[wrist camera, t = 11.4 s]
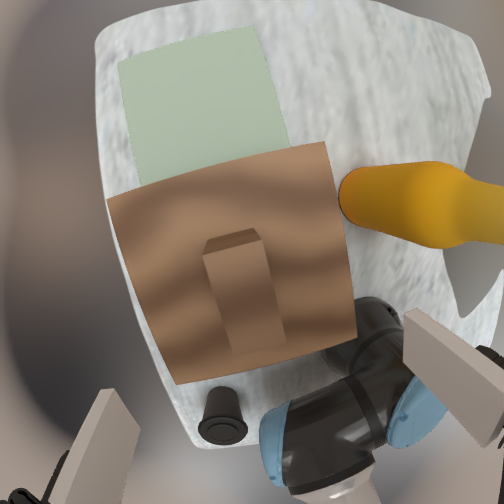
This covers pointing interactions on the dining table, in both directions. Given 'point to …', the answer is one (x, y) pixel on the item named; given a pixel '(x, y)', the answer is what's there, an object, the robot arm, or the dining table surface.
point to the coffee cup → (222, 418)
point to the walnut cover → (239, 262)
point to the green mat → (200, 104)
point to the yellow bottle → (424, 204)
